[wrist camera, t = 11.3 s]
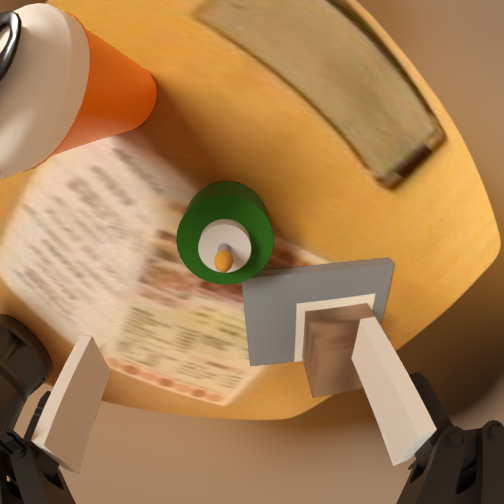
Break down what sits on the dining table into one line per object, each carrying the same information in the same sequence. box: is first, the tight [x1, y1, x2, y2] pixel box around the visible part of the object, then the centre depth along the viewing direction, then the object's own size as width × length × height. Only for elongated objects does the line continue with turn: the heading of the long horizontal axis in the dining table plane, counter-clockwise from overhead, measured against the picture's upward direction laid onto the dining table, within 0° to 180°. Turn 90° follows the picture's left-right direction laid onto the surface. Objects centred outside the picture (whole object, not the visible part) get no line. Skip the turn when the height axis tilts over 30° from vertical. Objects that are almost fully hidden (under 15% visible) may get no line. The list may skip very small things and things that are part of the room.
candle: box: [176, 181, 274, 285], centre depth 25 cm, size 8×8×10 cm
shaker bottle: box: [0, 3, 157, 179], centre depth 14 cm, size 9×9×20 cm
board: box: [242, 257, 394, 366], centre depth 34 cm, size 18×14×2 cm
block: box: [302, 303, 390, 398], centre depth 31 cm, size 8×8×7 cm
